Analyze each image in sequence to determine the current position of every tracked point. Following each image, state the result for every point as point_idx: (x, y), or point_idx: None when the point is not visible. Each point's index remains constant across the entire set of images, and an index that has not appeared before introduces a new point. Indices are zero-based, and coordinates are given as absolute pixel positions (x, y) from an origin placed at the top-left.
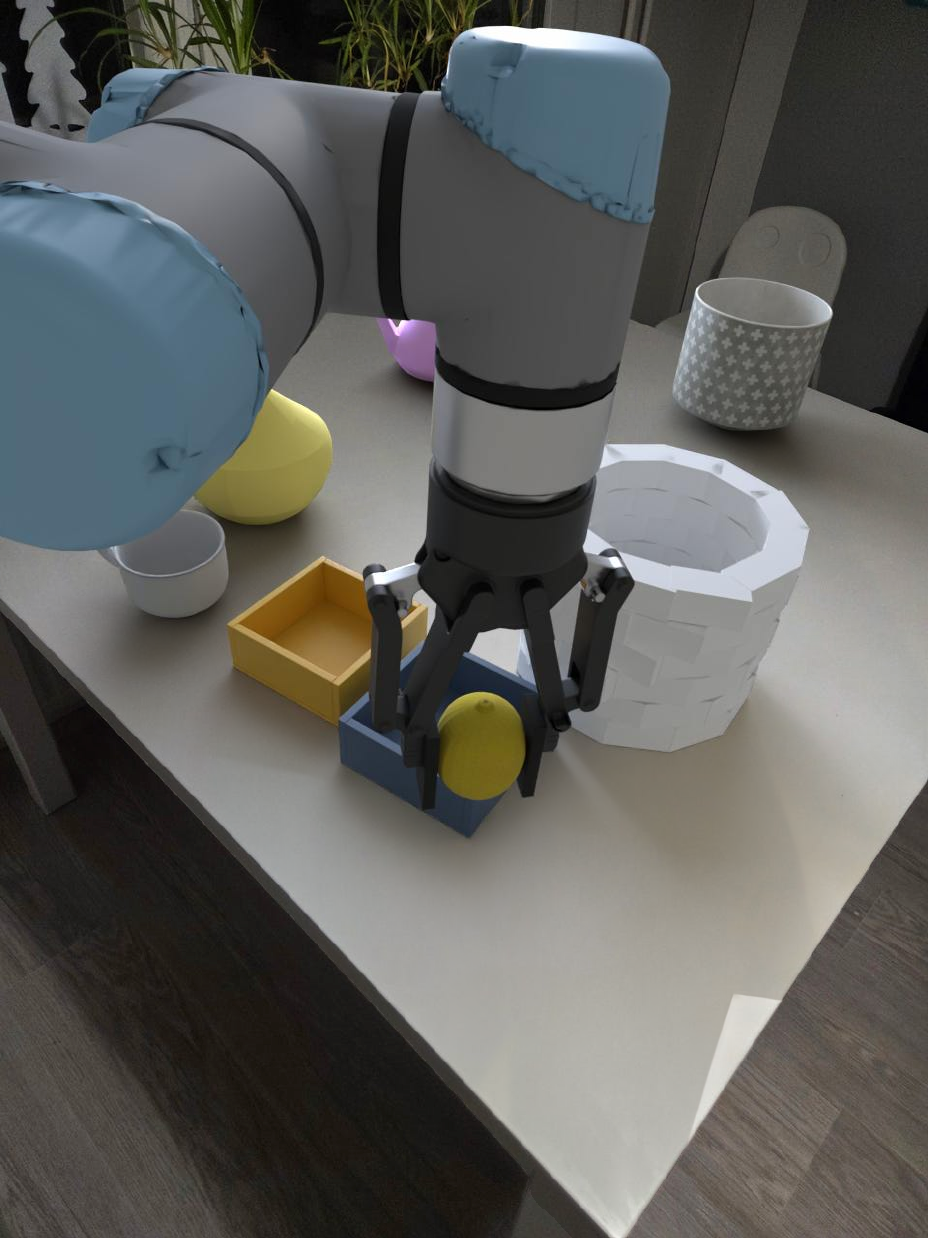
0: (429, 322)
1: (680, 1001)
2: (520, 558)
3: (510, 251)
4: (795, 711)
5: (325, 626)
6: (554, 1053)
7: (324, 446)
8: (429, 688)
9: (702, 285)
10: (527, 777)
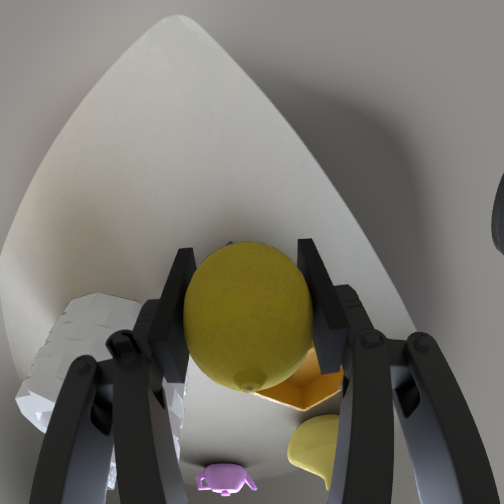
0: (231, 486)
1: (106, 125)
2: None
3: None
4: (41, 307)
5: (303, 374)
6: (190, 90)
7: (293, 455)
8: (385, 429)
9: (111, 489)
10: (183, 268)
